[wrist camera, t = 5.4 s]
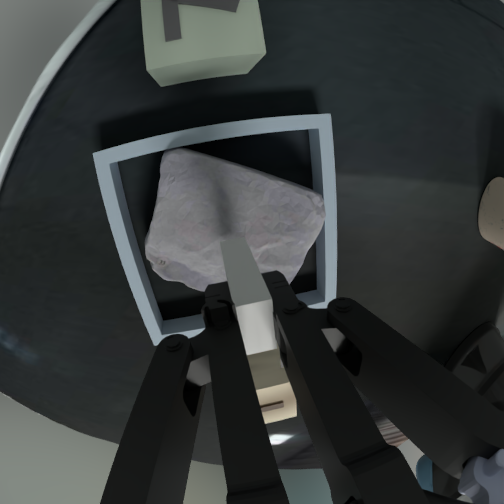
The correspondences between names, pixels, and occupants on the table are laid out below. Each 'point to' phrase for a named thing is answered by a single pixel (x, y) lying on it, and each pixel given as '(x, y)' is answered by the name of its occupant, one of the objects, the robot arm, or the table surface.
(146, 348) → the table surface
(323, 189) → the slate-blue holder
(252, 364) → the numbered birch block
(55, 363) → the table surface
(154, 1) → the numbered sage-green block
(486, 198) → the teacup with lid
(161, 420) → the robot arm
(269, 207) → the stone block
